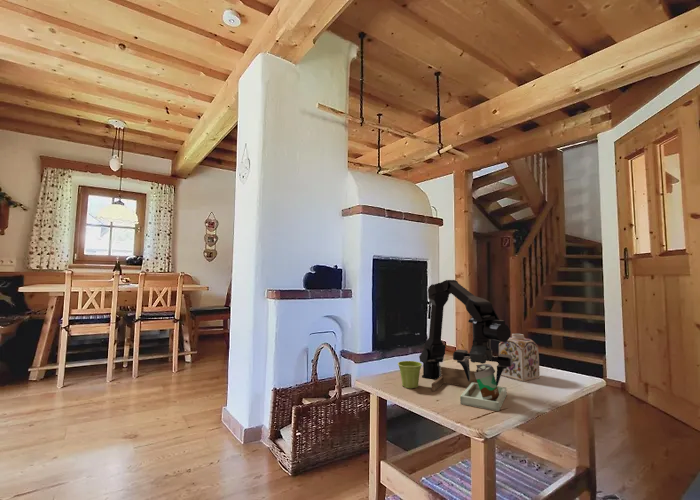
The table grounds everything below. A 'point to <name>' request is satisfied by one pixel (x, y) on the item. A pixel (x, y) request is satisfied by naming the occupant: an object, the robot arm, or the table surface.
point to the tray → (478, 400)
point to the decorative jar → (521, 358)
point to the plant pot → (410, 373)
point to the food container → (487, 381)
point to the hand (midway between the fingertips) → (482, 383)
